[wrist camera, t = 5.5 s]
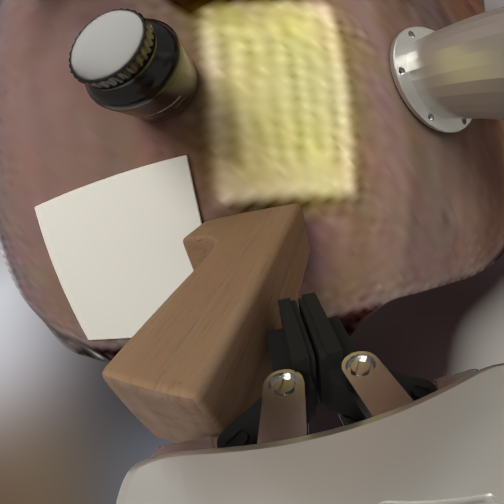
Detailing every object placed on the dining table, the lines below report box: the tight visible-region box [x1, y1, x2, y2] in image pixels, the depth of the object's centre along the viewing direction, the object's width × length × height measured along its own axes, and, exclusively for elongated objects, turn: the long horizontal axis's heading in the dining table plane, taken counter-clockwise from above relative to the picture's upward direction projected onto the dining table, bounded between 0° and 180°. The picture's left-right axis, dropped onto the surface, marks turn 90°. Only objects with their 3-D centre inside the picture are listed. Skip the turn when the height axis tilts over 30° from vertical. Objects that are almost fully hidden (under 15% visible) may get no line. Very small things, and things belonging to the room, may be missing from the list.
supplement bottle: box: [69, 9, 198, 121], centre depth 14 cm, size 7×7×12 cm
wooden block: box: [102, 203, 311, 443], centre depth 16 cm, size 9×4×18 cm, turn 105°
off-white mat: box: [35, 155, 202, 340], centre depth 26 cm, size 19×18×1 cm
